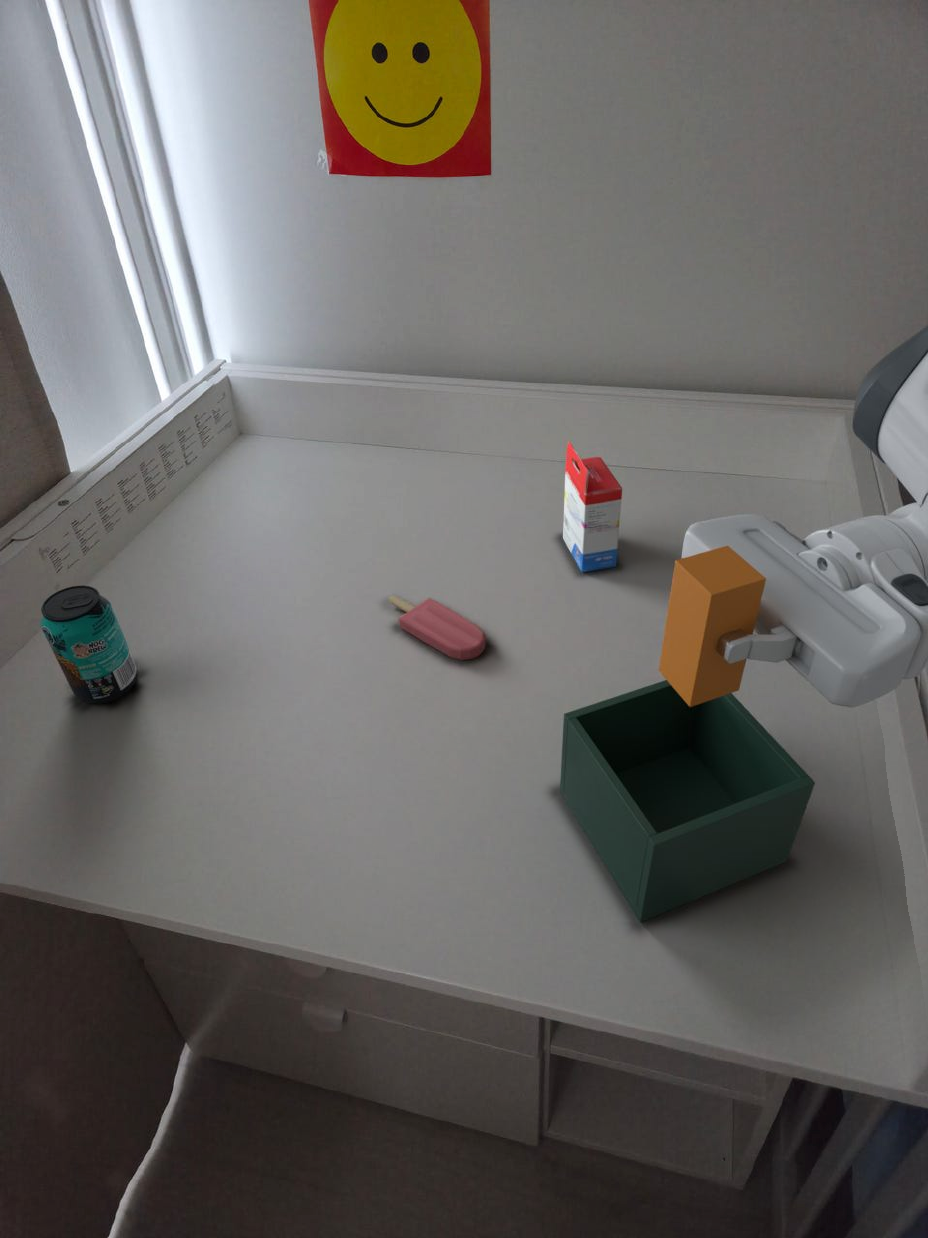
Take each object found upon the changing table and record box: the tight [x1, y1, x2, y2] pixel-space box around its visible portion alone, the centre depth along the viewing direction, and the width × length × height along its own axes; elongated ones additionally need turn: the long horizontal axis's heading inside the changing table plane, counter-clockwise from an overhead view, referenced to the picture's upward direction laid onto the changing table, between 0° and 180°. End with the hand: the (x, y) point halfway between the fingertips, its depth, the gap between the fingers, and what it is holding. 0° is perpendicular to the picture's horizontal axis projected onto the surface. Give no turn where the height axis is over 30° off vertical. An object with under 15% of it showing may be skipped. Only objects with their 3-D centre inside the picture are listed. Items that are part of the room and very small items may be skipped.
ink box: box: [562, 441, 623, 573], centre depth 103 cm, size 8×5×15 cm, turn 12°
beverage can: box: [40, 585, 139, 704], centre depth 88 cm, size 7×7×12 cm
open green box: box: [559, 679, 816, 923], centre depth 70 cm, size 15×15×11 cm
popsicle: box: [388, 595, 486, 661], centre depth 96 cm, size 5×2×15 cm
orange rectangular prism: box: [658, 546, 766, 707], centre depth 61 cm, size 4×4×11 cm
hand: (699, 626), depth 60 cm, fingers closed on orange rectangular prism, 4 cm apart
